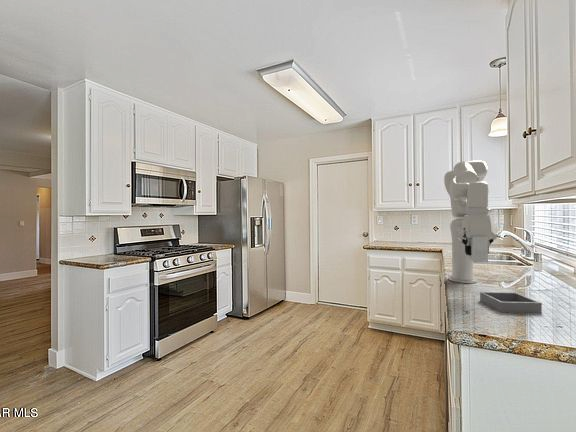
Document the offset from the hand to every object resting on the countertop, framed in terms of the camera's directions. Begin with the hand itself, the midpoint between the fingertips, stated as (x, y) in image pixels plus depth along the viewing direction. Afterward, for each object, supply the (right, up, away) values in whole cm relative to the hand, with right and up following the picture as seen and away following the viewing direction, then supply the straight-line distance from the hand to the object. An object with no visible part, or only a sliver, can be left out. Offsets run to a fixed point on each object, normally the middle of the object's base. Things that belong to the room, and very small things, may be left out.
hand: (476, 254), depth 129 cm
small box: (0, -3, 0) cm, 3 cm away
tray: (+4, -18, -13) cm, 23 cm away
